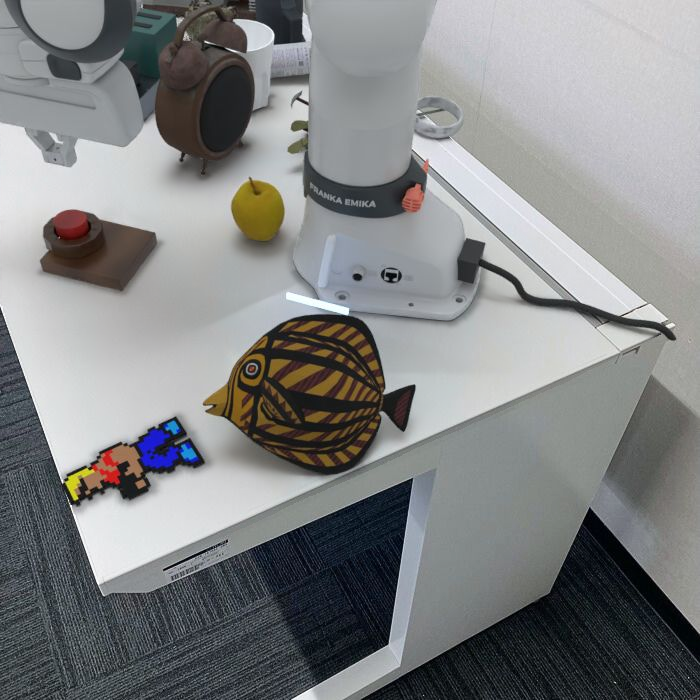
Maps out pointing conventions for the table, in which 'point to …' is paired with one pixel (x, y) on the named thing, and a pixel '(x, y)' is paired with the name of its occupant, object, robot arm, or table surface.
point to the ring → (445, 105)
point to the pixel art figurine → (133, 463)
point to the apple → (258, 210)
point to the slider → (132, 69)
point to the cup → (258, 57)
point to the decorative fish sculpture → (312, 393)
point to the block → (98, 252)
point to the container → (291, 59)
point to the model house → (178, 3)
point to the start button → (71, 224)
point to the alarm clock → (205, 89)
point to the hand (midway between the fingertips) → (61, 162)
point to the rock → (205, 17)
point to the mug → (282, 19)
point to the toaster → (149, 52)
